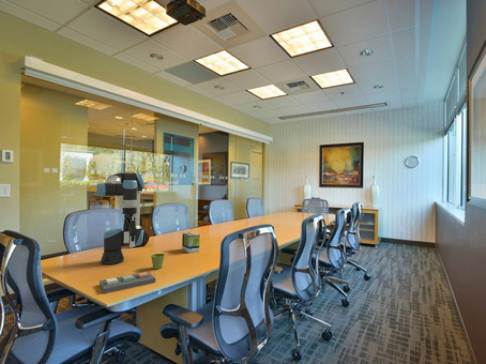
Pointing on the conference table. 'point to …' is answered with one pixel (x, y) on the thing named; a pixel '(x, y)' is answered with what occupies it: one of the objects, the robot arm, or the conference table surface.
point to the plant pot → (157, 260)
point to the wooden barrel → (144, 234)
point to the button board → (126, 283)
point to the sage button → (127, 278)
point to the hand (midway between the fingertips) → (129, 244)
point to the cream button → (111, 281)
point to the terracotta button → (143, 275)
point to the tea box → (190, 242)
